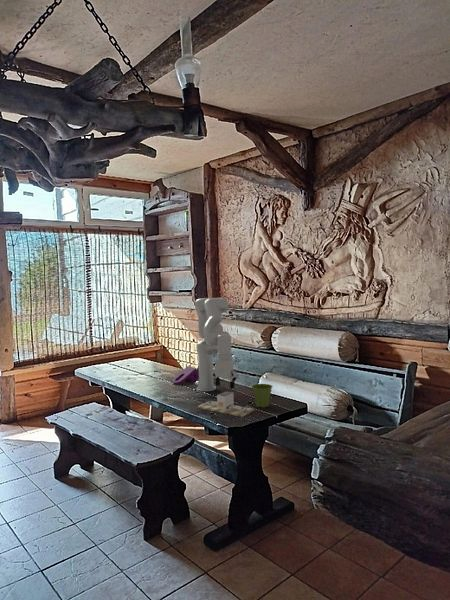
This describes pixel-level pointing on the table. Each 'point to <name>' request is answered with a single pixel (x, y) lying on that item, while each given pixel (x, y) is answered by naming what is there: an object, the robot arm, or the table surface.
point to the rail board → (227, 410)
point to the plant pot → (262, 394)
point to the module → (225, 400)
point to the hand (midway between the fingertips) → (224, 387)
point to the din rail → (227, 406)
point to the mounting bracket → (186, 375)
